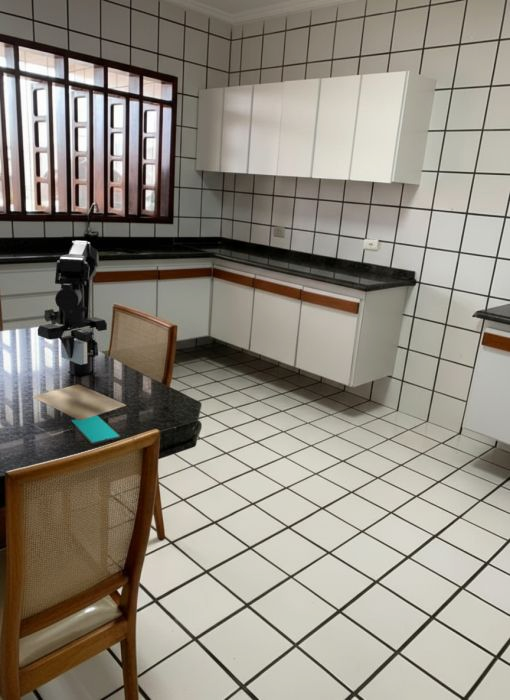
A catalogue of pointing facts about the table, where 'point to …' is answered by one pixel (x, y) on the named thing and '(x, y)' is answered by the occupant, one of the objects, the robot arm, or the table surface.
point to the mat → (79, 401)
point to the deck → (76, 352)
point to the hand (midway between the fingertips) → (74, 357)
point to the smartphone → (95, 430)
